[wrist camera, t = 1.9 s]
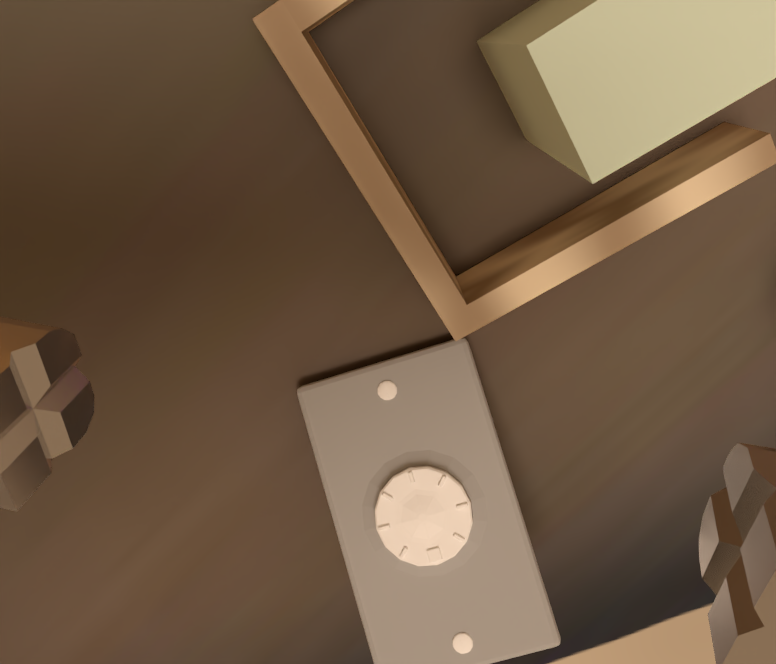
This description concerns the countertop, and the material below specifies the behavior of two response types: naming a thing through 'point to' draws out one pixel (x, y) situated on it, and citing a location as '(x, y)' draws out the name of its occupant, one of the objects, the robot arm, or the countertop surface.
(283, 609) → the countertop surface
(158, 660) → the countertop surface
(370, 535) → the light switch
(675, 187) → the wooden frame
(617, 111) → the pale olive cuboid
